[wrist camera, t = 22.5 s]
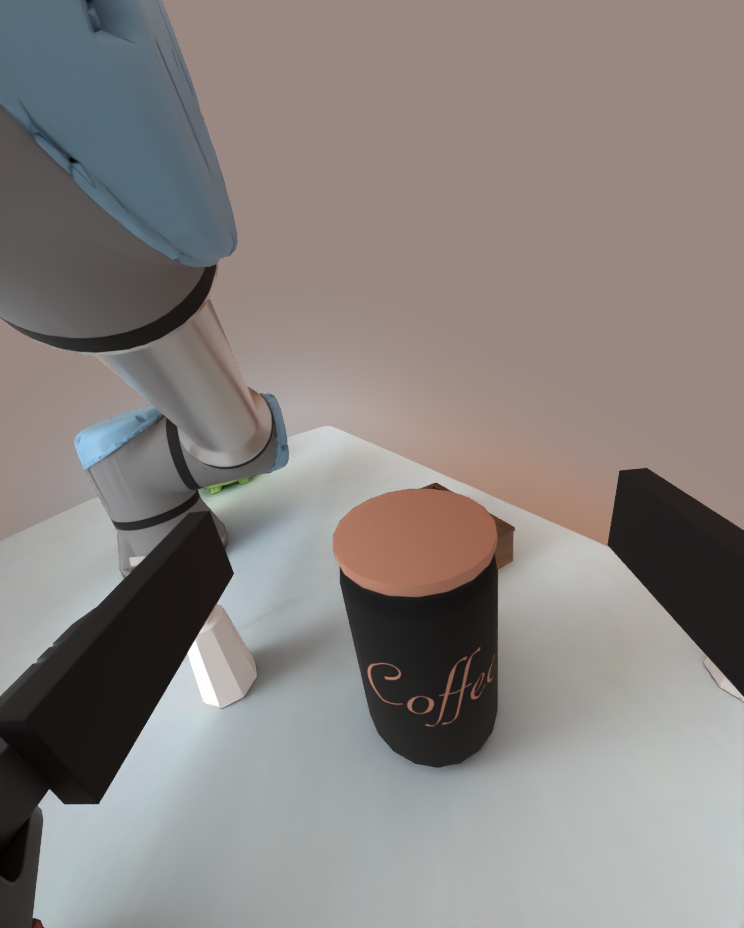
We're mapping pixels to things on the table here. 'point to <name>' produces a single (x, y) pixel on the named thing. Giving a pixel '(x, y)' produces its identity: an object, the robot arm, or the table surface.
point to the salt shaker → (722, 679)
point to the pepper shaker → (221, 661)
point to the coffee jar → (424, 619)
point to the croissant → (36, 923)
